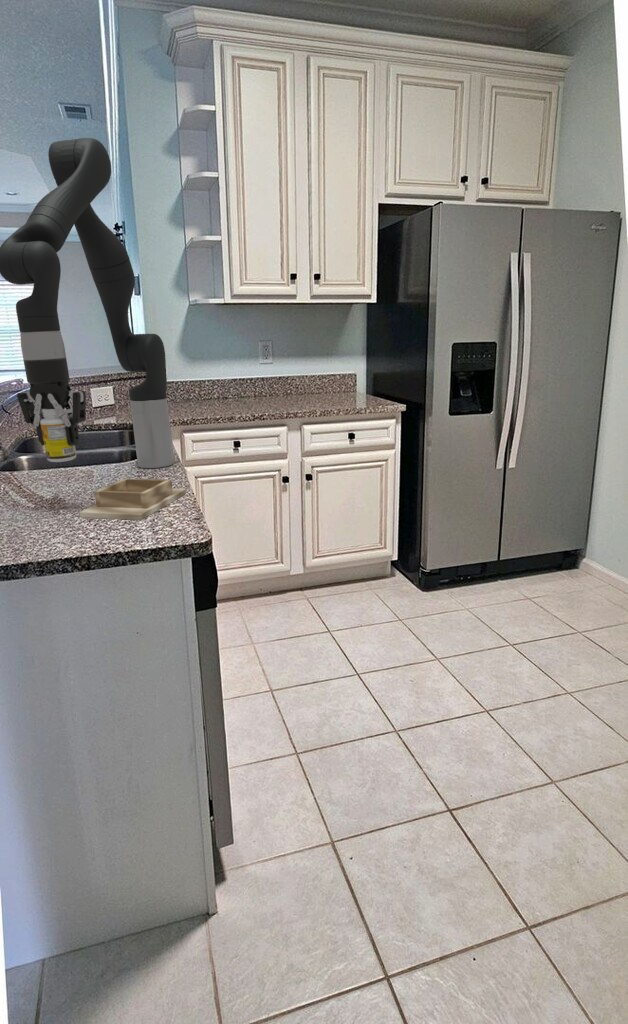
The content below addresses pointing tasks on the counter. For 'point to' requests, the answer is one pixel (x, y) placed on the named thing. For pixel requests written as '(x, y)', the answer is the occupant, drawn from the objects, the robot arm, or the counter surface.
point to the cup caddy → (132, 499)
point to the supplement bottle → (56, 437)
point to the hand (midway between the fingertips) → (59, 444)
